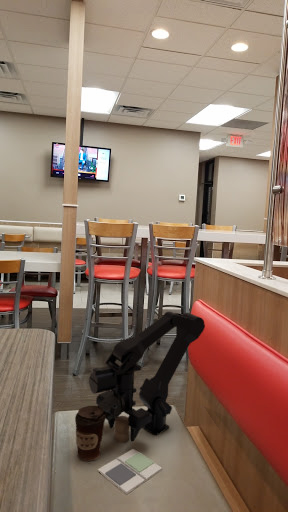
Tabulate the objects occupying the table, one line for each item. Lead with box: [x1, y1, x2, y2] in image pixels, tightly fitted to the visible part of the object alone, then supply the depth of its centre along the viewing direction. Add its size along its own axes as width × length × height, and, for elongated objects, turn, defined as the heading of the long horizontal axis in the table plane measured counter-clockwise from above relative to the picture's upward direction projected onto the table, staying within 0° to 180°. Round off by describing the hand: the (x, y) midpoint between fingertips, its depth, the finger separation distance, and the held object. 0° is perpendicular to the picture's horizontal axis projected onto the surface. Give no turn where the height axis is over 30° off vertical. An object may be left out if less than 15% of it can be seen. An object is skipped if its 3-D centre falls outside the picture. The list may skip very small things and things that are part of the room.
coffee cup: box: [74, 405, 106, 462], centre depth 107 cm, size 9×8×13 cm
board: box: [97, 448, 163, 495], centre depth 102 cm, size 13×11×1 cm
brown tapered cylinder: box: [113, 415, 130, 444], centre depth 115 cm, size 4×4×6 cm
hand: (121, 434), depth 115 cm, fingers open, 9 cm apart
